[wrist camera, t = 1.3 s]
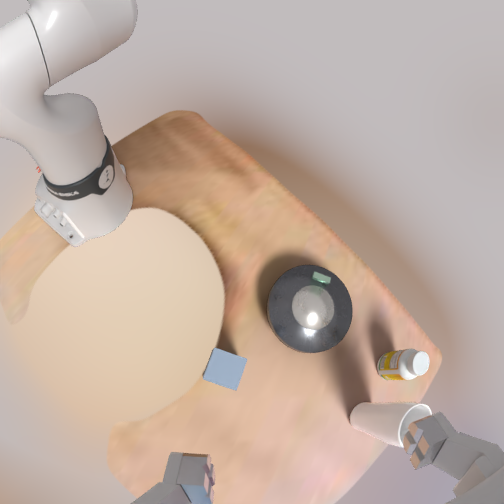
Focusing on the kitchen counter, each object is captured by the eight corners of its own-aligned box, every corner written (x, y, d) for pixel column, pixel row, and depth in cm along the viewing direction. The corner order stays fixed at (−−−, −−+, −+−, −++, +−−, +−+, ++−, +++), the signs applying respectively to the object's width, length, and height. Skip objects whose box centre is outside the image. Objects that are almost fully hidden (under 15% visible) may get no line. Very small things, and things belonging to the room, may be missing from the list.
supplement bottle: (372, 359, 44) (405, 355, 36) (393, 347, 46) (426, 340, 37) (381, 385, 43) (414, 385, 34) (401, 372, 44) (435, 369, 35)
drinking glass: (350, 395, 41) (404, 401, 28) (380, 399, 42) (437, 403, 28) (340, 432, 38) (392, 450, 25) (371, 433, 39) (426, 447, 25)
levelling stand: (252, 339, 43) (257, 336, 39) (277, 261, 49) (284, 250, 44) (330, 363, 43) (343, 362, 39) (348, 288, 49) (361, 280, 45)
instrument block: (202, 376, 39) (202, 379, 32) (212, 350, 41) (214, 347, 34) (230, 385, 39) (236, 390, 32) (239, 359, 41) (247, 358, 34)
